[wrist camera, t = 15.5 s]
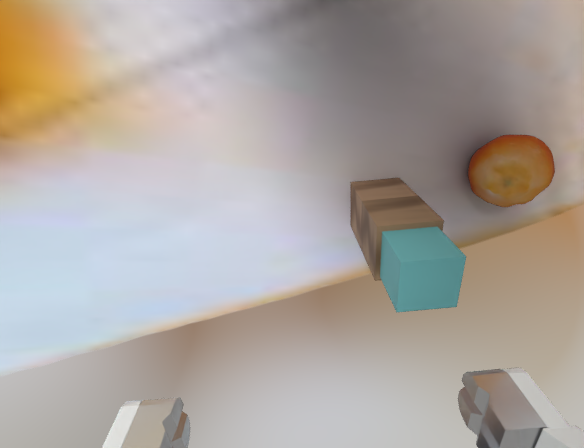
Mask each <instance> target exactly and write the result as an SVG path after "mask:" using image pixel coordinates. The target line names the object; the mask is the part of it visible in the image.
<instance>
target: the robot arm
mask: <svg viewBox="0 0 584 448" xmlns="http://www.w3.org/2000/svg"><path fill="white" fill-rule="evenodd" d="M462 382H463V384H464V386H465V387H464V388H463V389H461V390H460V391H459V396H458V402H459V408H460V412H461V415H462V417H463V419H464V421H465V423H466V425H467V427H468V428H469V429H470V430H472V431H473V432H474V433H475V434H477V443H476V445H477V447H478V448H584V430H582V429H580V428H579V427H577V426H570V425H569V424H568V423H567V421H566V420H565V419H564V418H563V416H562V415H561V414H560V413H559V412H558V410H557V409H556V408H555V407H554V405H553V404H552V403H551V402H550V401H549V399H548V398H547V397H546V396H545V394H544V393H543V392H542V391H541V389H540V388H539V387H538V386H537V384H536V383H535V382H534V381H533V380H532V378H531V377H530V376H529V375H528V373H527V372H526V371H525V370H523V369H522V368H509V369H494V370H484V371H474V372H466V373H465V374H464V375H463V378H462ZM182 409H183V402H182V400H181V398H168V399H154V400H138V401H127V402H125V404H124V405H123V406H122V407H121V408H120V411H119V413H118V415H117V417H116V419H115V421H114V424H113V425H112V428H111V430H110V432H109V434H108V436H107V438H106V440H105V442H104V444H103V447H102V448H188V443H189V437H190V422H189V418H188V415H187V414H186V413H184V412H183V411H182Z"/></svg>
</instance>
